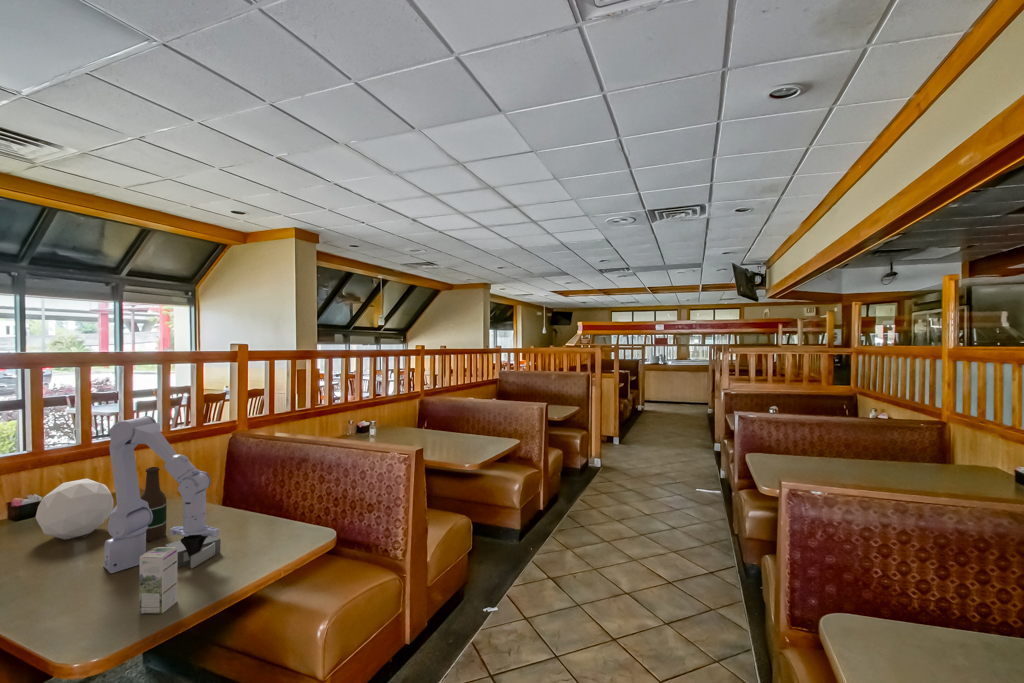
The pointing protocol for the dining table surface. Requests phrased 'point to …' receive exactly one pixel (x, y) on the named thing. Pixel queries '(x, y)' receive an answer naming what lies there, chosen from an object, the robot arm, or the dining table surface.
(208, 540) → the camera body
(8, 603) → the dining table surface
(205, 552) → the side door
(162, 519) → the beer bottle
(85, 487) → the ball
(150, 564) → the syrup box
